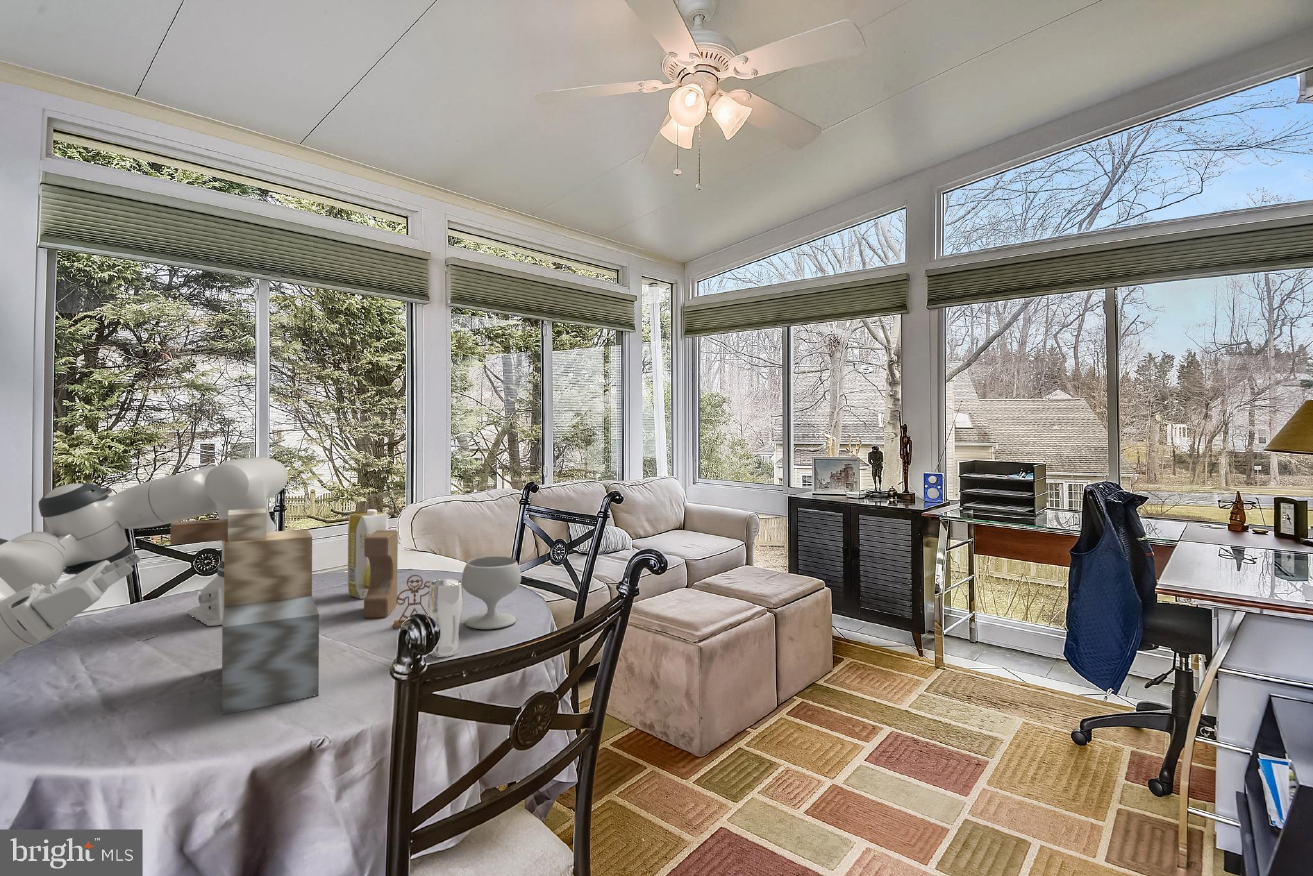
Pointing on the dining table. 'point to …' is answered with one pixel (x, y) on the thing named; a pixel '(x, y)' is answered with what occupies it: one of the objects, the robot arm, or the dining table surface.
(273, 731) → the dining table surface
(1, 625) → the robot arm
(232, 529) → the brown rectangular block
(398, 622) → the gingerbread man figurine
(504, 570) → the chalice
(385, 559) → the decorative block
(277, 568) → the step stand
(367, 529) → the juice carton
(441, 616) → the beer glass
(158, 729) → the dining table surface
